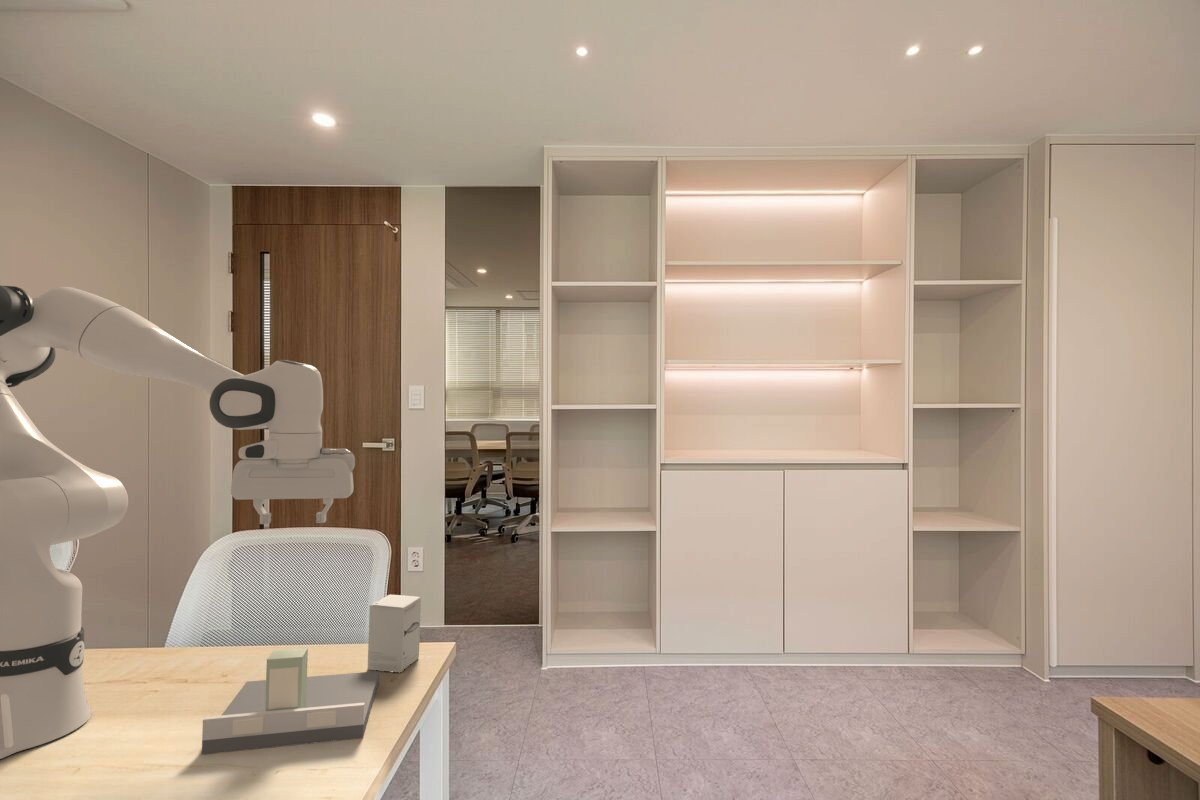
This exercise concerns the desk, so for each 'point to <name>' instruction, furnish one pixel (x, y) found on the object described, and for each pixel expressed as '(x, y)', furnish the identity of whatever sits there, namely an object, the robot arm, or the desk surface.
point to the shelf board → (294, 715)
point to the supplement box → (394, 633)
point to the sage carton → (286, 679)
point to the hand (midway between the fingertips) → (293, 522)
